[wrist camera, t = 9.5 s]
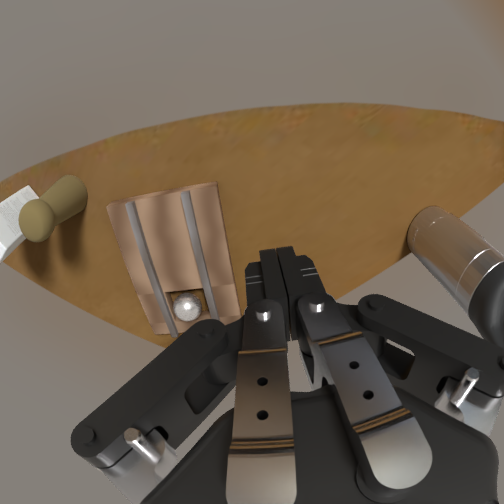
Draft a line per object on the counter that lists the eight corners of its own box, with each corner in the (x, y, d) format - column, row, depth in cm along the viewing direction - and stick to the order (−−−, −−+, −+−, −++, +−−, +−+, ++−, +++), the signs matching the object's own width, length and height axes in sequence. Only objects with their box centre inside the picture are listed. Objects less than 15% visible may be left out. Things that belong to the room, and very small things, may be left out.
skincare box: (18, 201, 34) (-27, 234, 24) (29, 183, 33) (-20, 215, 23) (39, 227, 37) (-2, 266, 27) (51, 211, 36) (7, 249, 26)
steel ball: (206, 317, 45) (200, 290, 45) (202, 320, 41) (196, 290, 41) (179, 321, 45) (174, 294, 45) (173, 325, 40) (167, 295, 41)
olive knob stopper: (76, 221, 37) (39, 259, 28) (49, 198, 35) (7, 230, 25) (94, 191, 35) (54, 223, 26) (65, 166, 33) (19, 192, 23)
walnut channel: (217, 181, 36) (215, 188, 34) (242, 318, 47) (242, 330, 45) (111, 201, 36) (103, 209, 34) (156, 326, 48) (153, 338, 45)
